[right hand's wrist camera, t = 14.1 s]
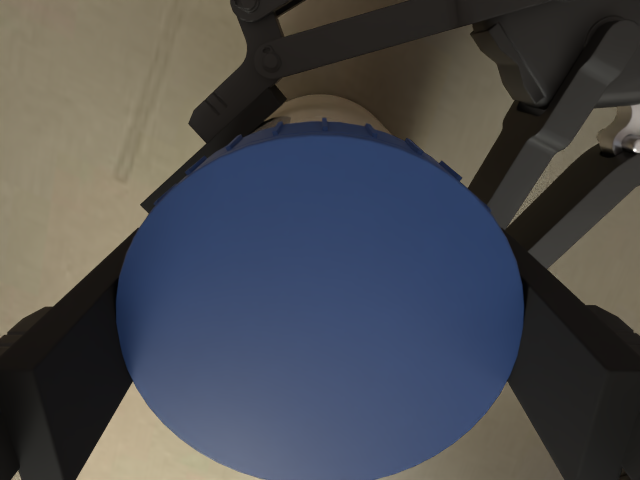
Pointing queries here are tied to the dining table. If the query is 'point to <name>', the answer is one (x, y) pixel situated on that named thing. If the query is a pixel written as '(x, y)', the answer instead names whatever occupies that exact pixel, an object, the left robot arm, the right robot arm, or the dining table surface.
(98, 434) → the right robot arm
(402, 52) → the dining table surface
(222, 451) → the lid
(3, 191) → the dining table surface
